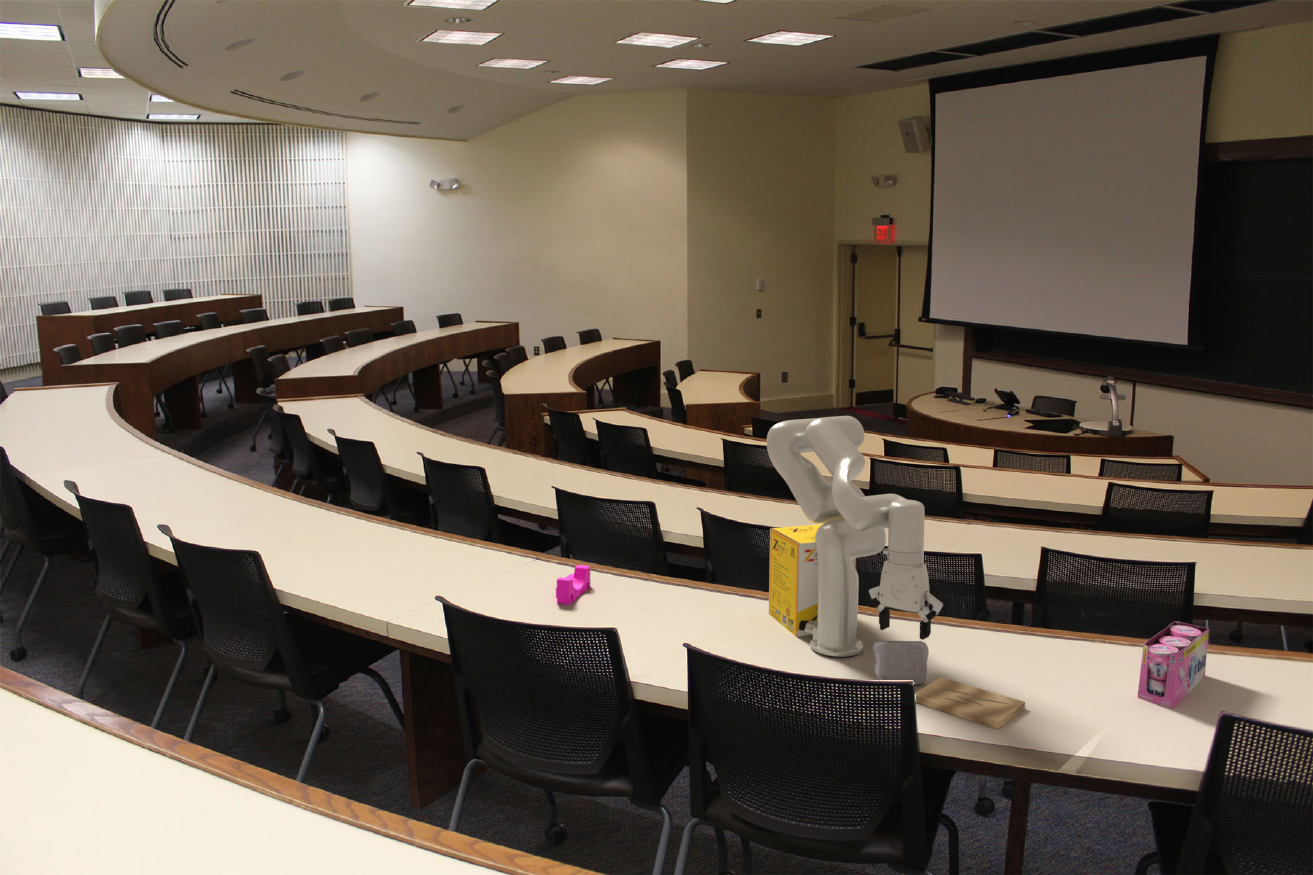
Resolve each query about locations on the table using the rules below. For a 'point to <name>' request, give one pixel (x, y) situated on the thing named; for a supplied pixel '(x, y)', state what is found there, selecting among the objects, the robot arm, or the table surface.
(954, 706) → the board
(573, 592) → the toy block
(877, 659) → the stone block
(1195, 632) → the gum box
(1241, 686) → the table surface
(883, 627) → the robot arm
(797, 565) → the packaging box
